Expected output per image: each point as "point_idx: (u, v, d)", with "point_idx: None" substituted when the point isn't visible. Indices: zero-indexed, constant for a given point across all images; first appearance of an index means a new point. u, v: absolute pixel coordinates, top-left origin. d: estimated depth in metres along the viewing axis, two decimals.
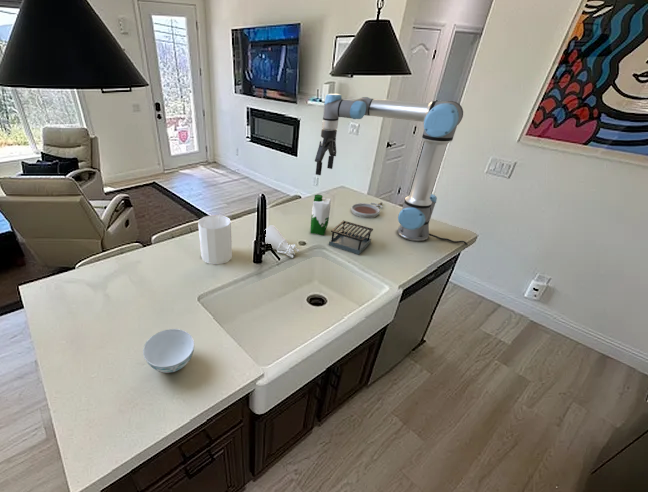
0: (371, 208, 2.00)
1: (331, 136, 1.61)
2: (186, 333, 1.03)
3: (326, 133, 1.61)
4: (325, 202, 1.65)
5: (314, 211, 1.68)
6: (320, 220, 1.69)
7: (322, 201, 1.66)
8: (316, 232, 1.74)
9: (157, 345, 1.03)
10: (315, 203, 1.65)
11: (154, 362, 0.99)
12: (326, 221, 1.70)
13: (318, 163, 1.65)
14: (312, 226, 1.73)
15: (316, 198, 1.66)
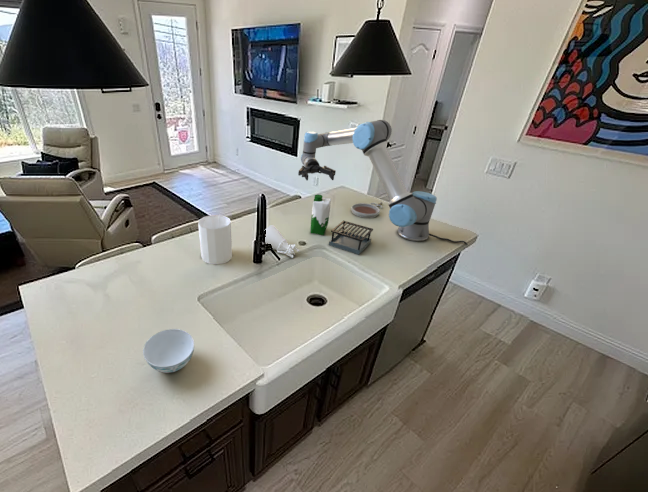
0: (371, 208, 2.00)
1: (308, 161, 1.84)
2: (186, 333, 1.03)
3: (305, 165, 1.86)
4: (325, 202, 1.65)
5: (314, 211, 1.68)
6: (320, 220, 1.69)
7: (322, 201, 1.66)
8: (316, 232, 1.74)
9: (157, 345, 1.03)
10: (315, 203, 1.65)
11: (154, 362, 0.99)
12: (326, 221, 1.70)
13: (302, 173, 1.75)
14: (312, 226, 1.73)
15: (316, 198, 1.66)
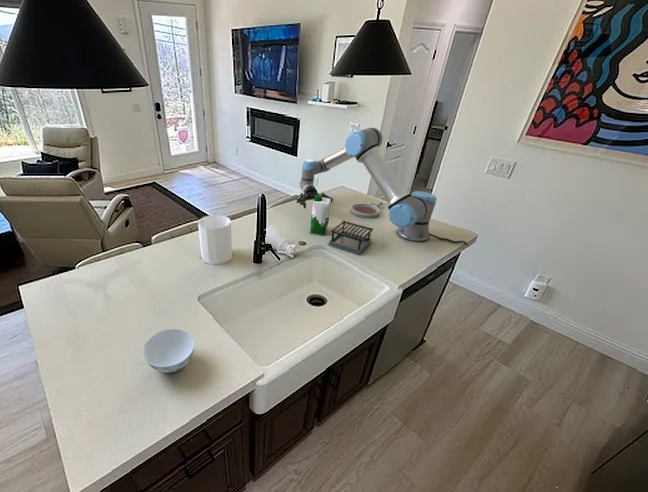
0: (371, 208, 2.00)
1: (307, 188, 1.91)
2: (186, 333, 1.03)
3: (304, 192, 1.93)
4: (325, 202, 1.65)
5: (314, 211, 1.68)
6: (320, 220, 1.69)
7: (322, 201, 1.66)
8: (316, 232, 1.74)
9: (157, 345, 1.03)
10: (315, 203, 1.65)
11: (154, 362, 0.99)
12: (326, 221, 1.70)
13: (300, 201, 1.81)
14: (312, 226, 1.73)
15: (316, 198, 1.66)
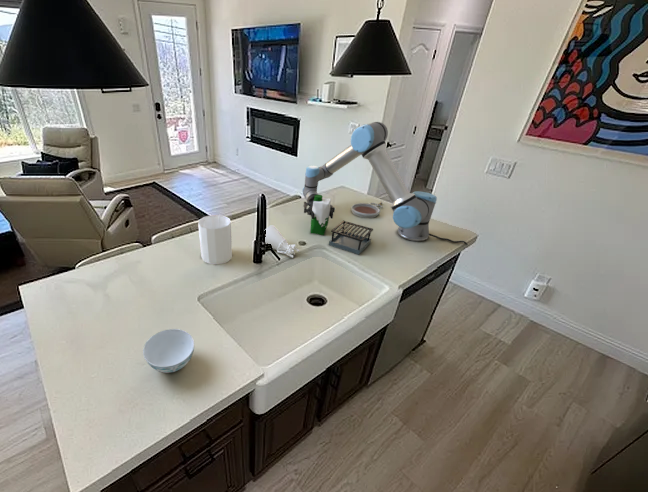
0: (371, 208, 2.00)
1: (310, 197, 1.82)
2: (186, 333, 1.03)
3: (307, 200, 1.84)
4: (325, 202, 1.65)
5: (314, 211, 1.68)
6: (320, 220, 1.69)
7: (322, 201, 1.66)
8: (316, 232, 1.74)
9: (157, 345, 1.03)
10: (315, 203, 1.65)
11: (154, 362, 0.99)
12: (326, 221, 1.70)
13: (307, 211, 1.72)
14: (312, 226, 1.73)
15: (316, 198, 1.66)
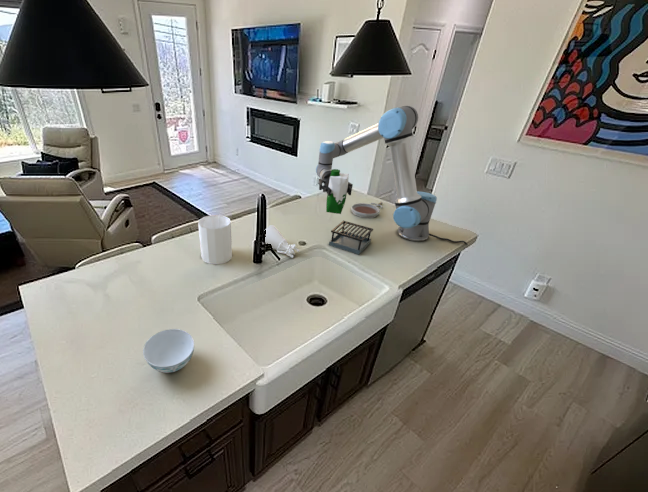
0: (371, 208, 2.00)
1: (325, 174, 1.69)
2: (186, 333, 1.03)
3: (322, 177, 1.72)
4: (343, 177, 1.52)
5: (331, 187, 1.55)
6: (337, 197, 1.56)
7: (340, 176, 1.53)
8: (332, 211, 1.61)
9: (157, 345, 1.03)
10: (332, 178, 1.53)
11: (154, 362, 0.99)
12: (344, 198, 1.57)
13: (323, 188, 1.59)
14: (328, 204, 1.60)
15: (333, 173, 1.53)
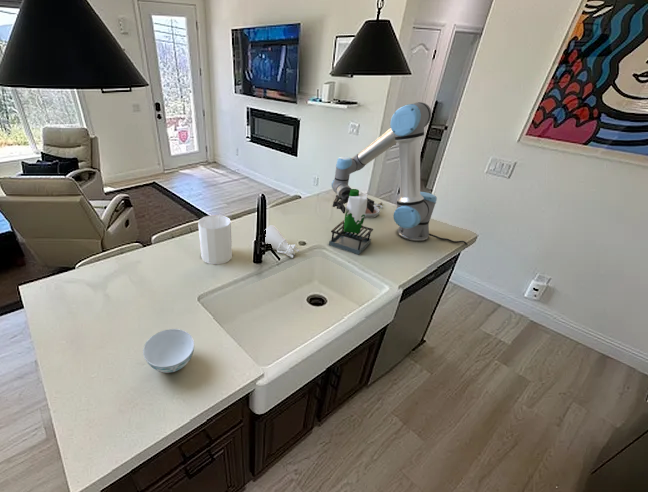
0: None
1: (343, 190, 1.66)
2: (186, 333, 1.03)
3: (339, 194, 1.68)
4: (363, 198, 1.49)
5: (349, 207, 1.53)
6: (356, 217, 1.53)
7: (359, 196, 1.50)
8: (350, 230, 1.58)
9: (157, 345, 1.03)
10: (351, 198, 1.50)
11: (154, 362, 0.99)
12: (362, 218, 1.55)
13: (337, 205, 1.57)
14: (346, 224, 1.57)
15: (352, 193, 1.50)
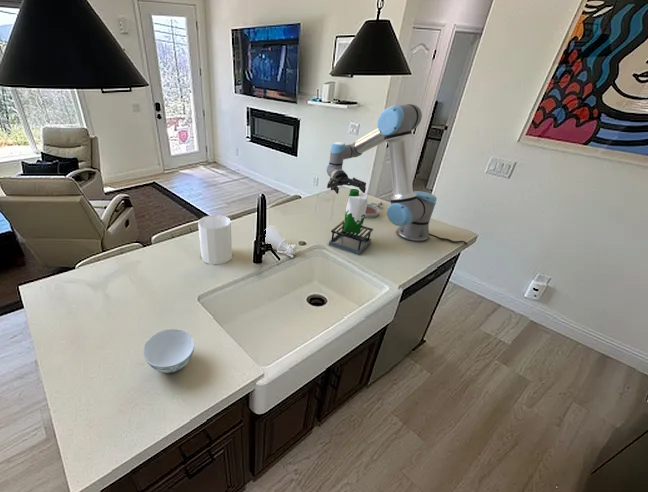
0: (371, 208, 2.00)
1: (337, 173, 1.76)
2: (186, 333, 1.03)
3: (333, 177, 1.79)
4: (363, 198, 1.49)
5: (349, 207, 1.53)
6: (356, 217, 1.53)
7: (359, 196, 1.50)
8: (350, 230, 1.58)
9: (157, 345, 1.03)
10: (351, 198, 1.50)
11: (154, 362, 0.99)
12: (362, 218, 1.55)
13: (331, 186, 1.67)
14: (346, 224, 1.57)
15: (352, 193, 1.50)
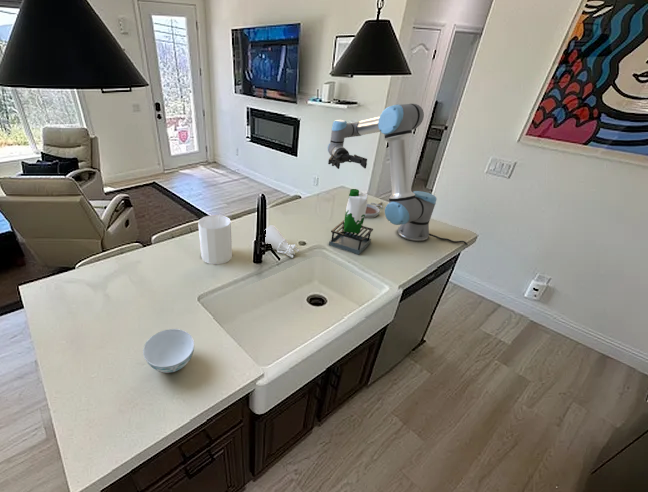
0: (371, 208, 2.00)
1: (338, 150, 1.76)
2: (186, 333, 1.03)
3: (334, 154, 1.79)
4: (363, 198, 1.49)
5: (349, 207, 1.53)
6: (356, 217, 1.53)
7: (359, 196, 1.50)
8: (350, 230, 1.58)
9: (157, 345, 1.03)
10: (351, 198, 1.50)
11: (154, 362, 0.99)
12: (362, 218, 1.55)
13: (332, 162, 1.67)
14: (346, 224, 1.57)
15: (352, 193, 1.50)
